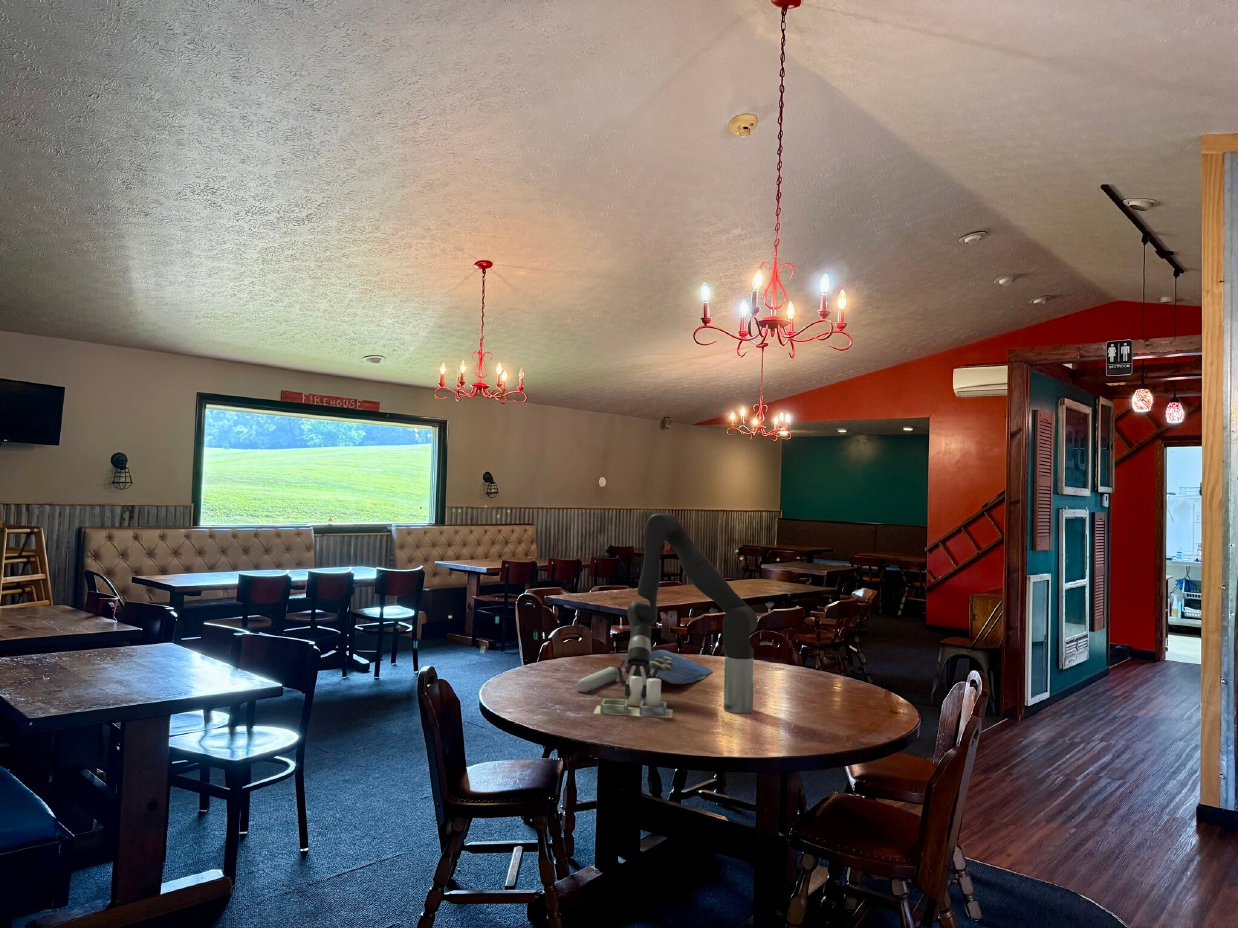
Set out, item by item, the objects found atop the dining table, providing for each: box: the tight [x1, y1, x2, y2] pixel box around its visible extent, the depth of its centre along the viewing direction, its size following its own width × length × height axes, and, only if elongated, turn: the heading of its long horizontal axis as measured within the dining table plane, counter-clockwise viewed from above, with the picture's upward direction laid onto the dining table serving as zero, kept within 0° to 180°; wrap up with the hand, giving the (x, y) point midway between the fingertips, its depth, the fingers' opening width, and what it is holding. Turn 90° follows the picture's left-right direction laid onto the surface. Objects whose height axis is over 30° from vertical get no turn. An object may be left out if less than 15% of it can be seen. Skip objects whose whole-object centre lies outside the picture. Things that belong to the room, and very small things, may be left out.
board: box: [593, 698, 674, 719], centre depth 251 cm, size 24×10×4 cm, turn 85°
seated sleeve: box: [645, 677, 662, 707], centre depth 251 cm, size 5×5×10 cm
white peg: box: [628, 676, 644, 707], centre depth 261 cm, size 5×5×10 cm
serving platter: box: [618, 649, 713, 685], centre depth 310 cm, size 45×27×12 cm, turn 156°
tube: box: [576, 666, 619, 693], centre depth 292 cm, size 5×5×25 cm
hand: (635, 696), depth 259 cm, fingers closed on white peg, 4 cm apart
